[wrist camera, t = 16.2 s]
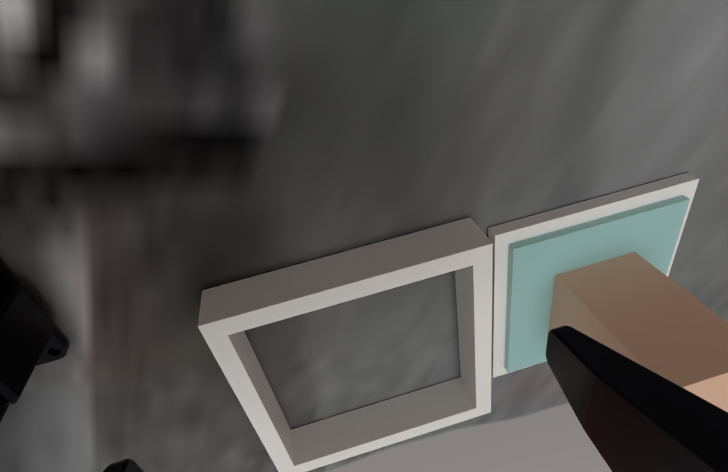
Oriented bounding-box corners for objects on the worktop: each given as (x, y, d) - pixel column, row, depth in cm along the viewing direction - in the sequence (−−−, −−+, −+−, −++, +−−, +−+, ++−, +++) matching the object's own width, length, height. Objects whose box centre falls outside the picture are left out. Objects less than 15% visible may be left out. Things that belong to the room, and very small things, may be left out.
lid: (475, 372, 30) (483, 387, 29) (472, 232, 23) (483, 245, 22) (643, 320, 31) (657, 333, 30) (687, 172, 24) (707, 182, 23)
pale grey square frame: (283, 448, 30) (286, 485, 28) (202, 290, 21) (197, 326, 19) (474, 388, 31) (490, 419, 29) (470, 217, 22) (492, 243, 20)
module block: (547, 337, 27) (641, 457, 21) (555, 275, 24) (668, 392, 18) (618, 315, 28) (732, 426, 21) (634, 251, 25) (773, 357, 18)
